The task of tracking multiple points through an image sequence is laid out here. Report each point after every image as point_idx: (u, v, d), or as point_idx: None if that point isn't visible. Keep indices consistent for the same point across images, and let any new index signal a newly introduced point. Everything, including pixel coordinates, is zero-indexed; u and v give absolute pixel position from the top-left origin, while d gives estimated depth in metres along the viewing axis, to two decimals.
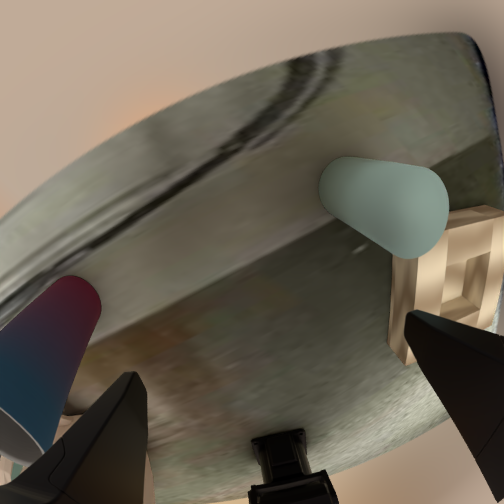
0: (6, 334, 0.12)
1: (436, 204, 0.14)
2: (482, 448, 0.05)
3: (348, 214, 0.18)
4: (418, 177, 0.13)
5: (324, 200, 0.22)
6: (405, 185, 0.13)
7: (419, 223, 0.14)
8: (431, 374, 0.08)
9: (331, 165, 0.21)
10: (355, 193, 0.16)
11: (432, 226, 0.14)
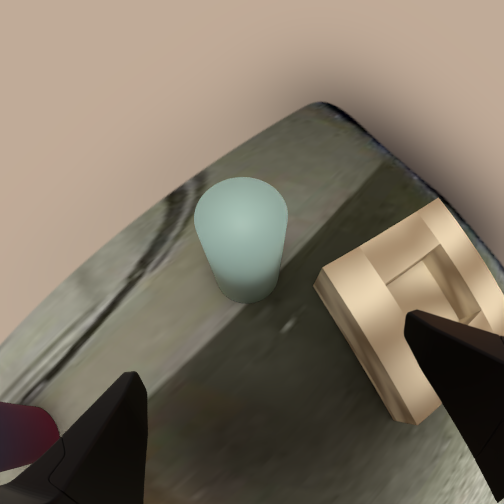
0: None
1: (261, 198, 0.17)
2: (482, 449, 0.05)
3: (214, 269, 0.19)
4: (228, 187, 0.17)
5: (221, 288, 0.23)
6: (216, 198, 0.17)
7: (249, 220, 0.16)
8: (431, 374, 0.08)
9: None
10: None
11: (268, 217, 0.16)
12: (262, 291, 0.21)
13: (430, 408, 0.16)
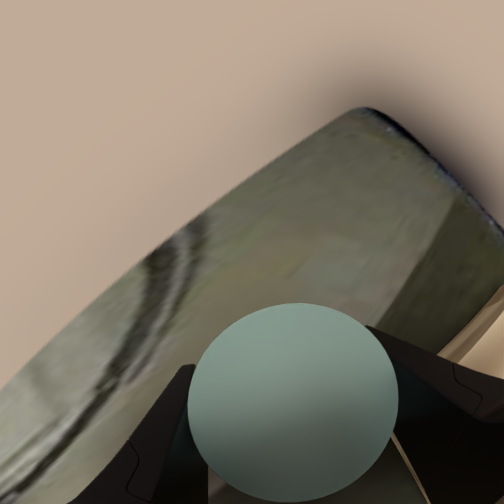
0: None
1: (345, 363, 0.07)
2: (430, 480, 0.05)
3: None
4: (265, 332, 0.07)
5: None
6: (236, 364, 0.07)
7: (317, 421, 0.06)
8: None
9: None
10: None
11: (359, 410, 0.06)
12: None
13: None
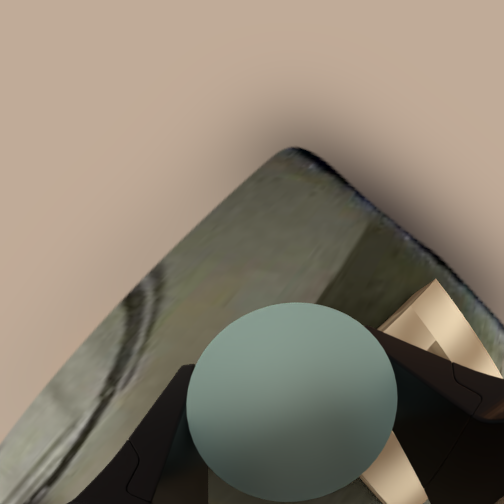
0: None
1: (343, 362, 0.07)
2: (430, 480, 0.05)
3: None
4: (263, 331, 0.07)
5: None
6: (235, 363, 0.07)
7: (316, 421, 0.06)
8: None
9: None
10: None
11: (358, 410, 0.06)
12: None
13: None
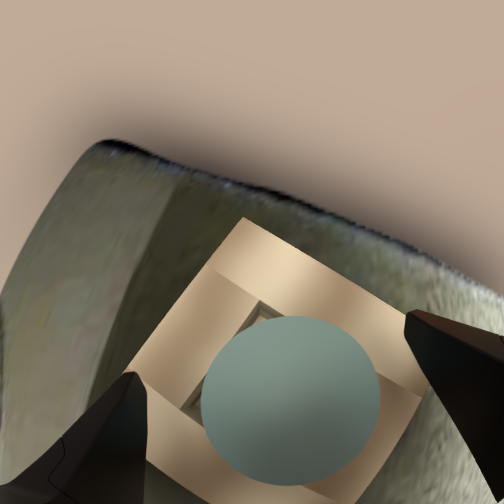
0: None
1: (333, 366, 0.08)
2: (482, 448, 0.05)
3: None
4: (265, 340, 0.08)
5: None
6: (242, 367, 0.08)
7: (310, 416, 0.07)
8: (431, 374, 0.08)
9: None
10: None
11: (345, 407, 0.07)
12: None
13: None
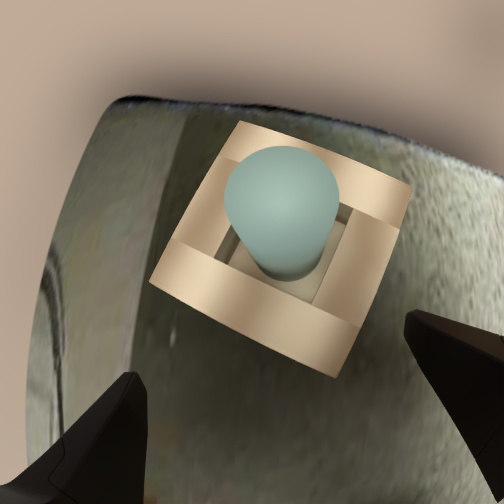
0: None
1: (302, 170, 0.13)
2: (482, 448, 0.05)
3: (255, 258, 0.16)
4: (258, 161, 0.13)
5: (262, 270, 0.20)
6: (246, 178, 0.13)
7: (293, 200, 0.13)
8: (431, 374, 0.08)
9: None
10: None
11: (315, 192, 0.13)
12: (310, 268, 0.19)
13: (341, 354, 0.16)
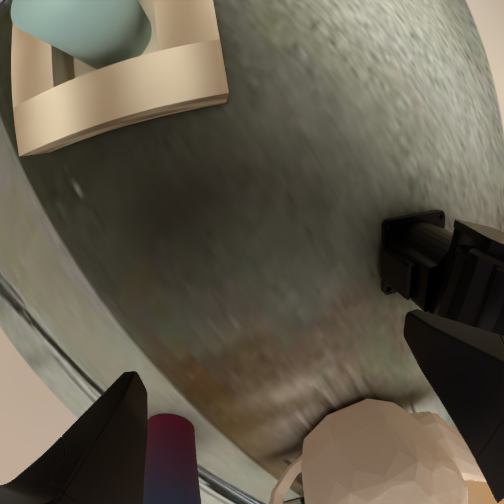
0: None
1: None
2: (482, 448, 0.05)
3: (80, 50, 0.11)
4: None
5: None
6: None
7: None
8: (431, 374, 0.08)
9: None
10: (49, 43, 0.09)
11: None
12: (141, 30, 0.13)
13: (218, 69, 0.14)
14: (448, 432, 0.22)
